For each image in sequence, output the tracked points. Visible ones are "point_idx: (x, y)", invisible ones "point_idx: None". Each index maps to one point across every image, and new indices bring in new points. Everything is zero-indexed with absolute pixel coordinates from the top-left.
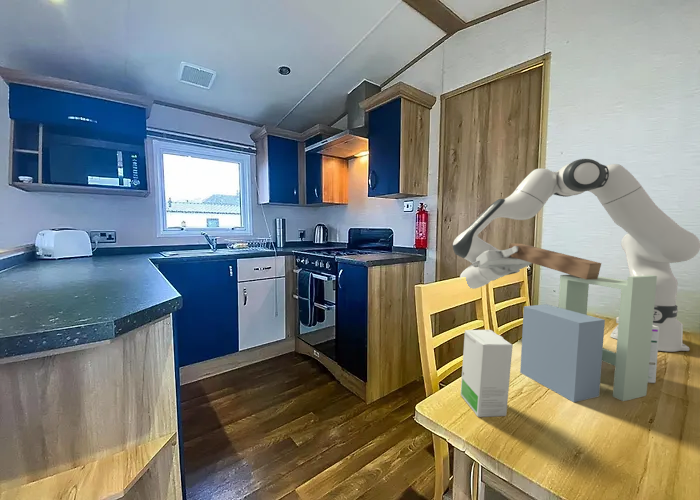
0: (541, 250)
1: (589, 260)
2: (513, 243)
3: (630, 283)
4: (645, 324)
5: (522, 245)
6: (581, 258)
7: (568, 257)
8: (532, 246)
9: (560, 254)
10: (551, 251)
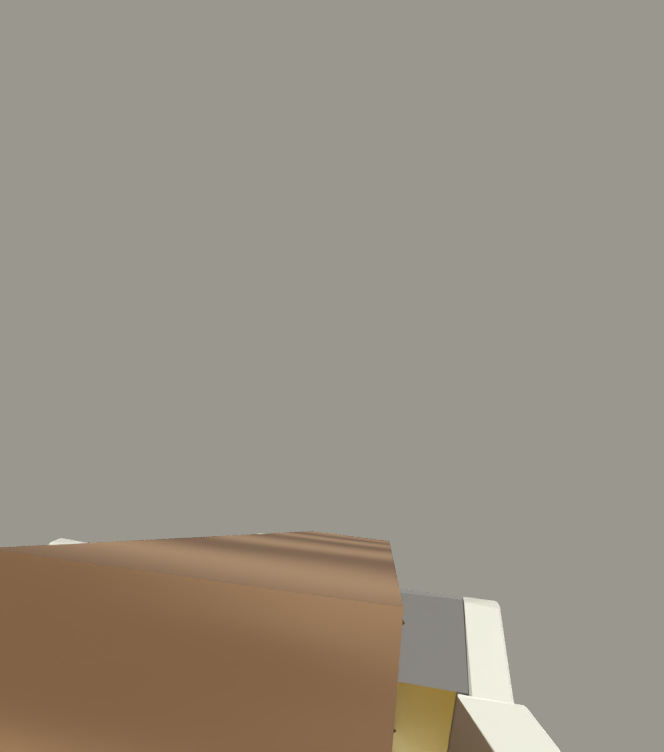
0: (348, 547)
1: (310, 532)
2: (282, 585)
3: None
4: None
5: (290, 561)
6: (302, 532)
7: (367, 541)
8: (187, 539)
9: (327, 539)
10: (280, 537)
